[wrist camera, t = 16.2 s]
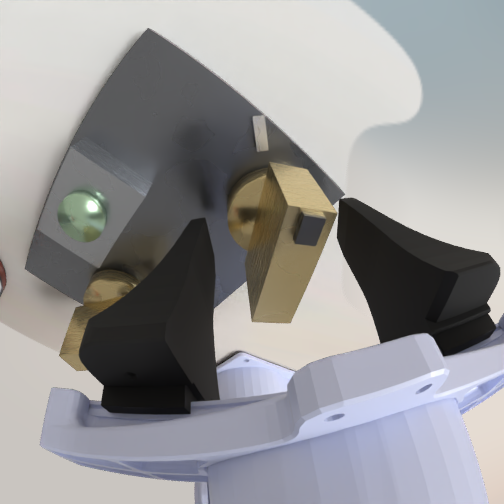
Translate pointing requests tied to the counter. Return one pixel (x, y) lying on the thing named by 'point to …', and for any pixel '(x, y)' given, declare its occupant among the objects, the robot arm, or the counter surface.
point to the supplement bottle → (2, 278)
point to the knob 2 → (279, 236)
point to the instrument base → (156, 171)
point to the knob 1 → (94, 309)
